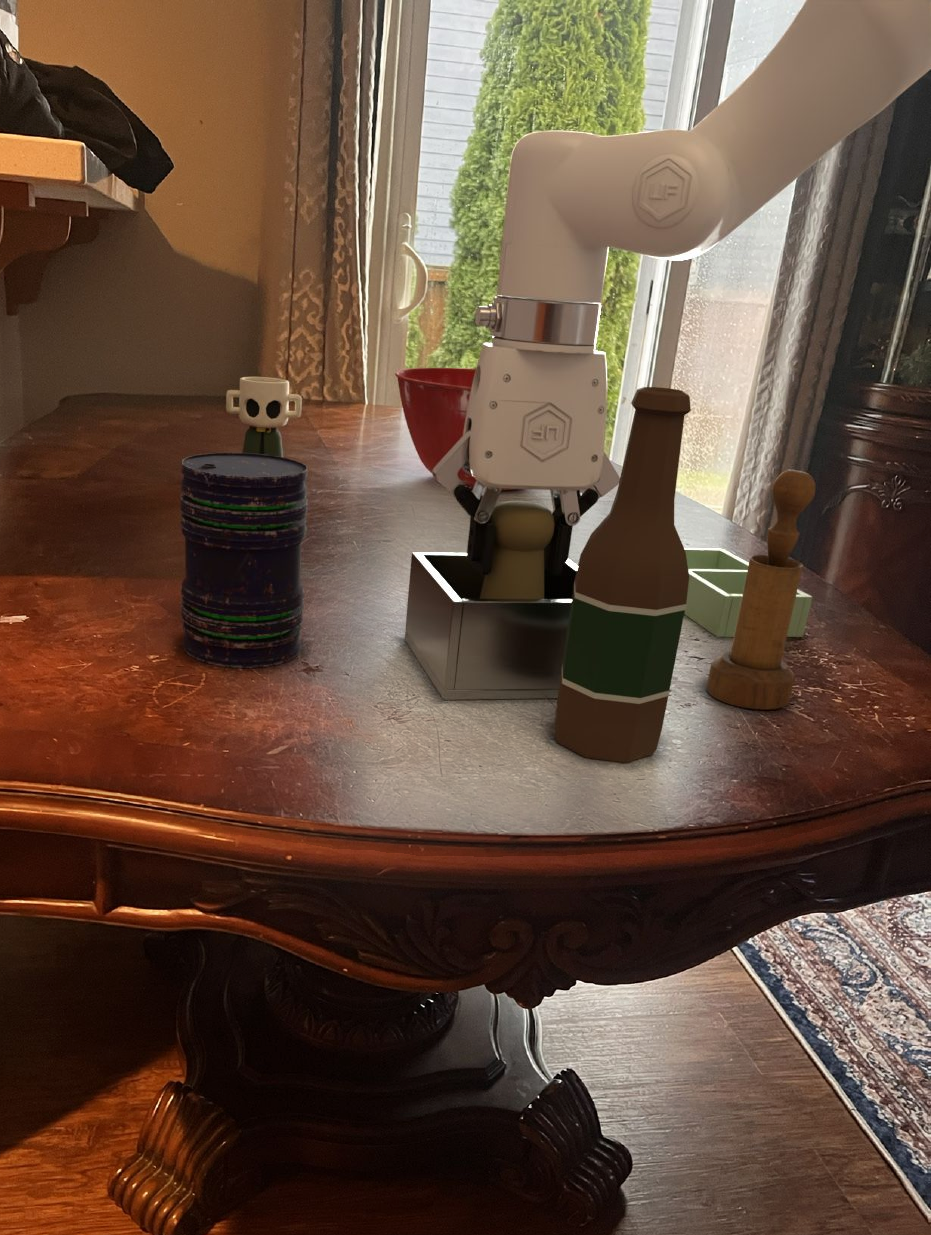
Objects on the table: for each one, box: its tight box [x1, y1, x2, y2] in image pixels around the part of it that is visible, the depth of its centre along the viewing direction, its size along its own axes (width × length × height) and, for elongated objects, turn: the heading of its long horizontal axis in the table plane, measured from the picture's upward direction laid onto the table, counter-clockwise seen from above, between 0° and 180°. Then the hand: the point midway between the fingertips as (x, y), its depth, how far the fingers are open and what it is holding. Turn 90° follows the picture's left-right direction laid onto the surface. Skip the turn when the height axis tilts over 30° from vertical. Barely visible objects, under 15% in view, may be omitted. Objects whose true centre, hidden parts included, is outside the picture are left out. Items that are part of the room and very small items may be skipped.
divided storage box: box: [684, 547, 813, 638], centre depth 106 cm, size 9×17×4 cm, turn 12°
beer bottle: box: [554, 386, 692, 764], centre depth 70 cm, size 8×8×24 cm
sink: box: [404, 551, 578, 701], centre depth 85 cm, size 14×14×8 cm
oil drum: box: [179, 452, 309, 669], centre depth 84 cm, size 10×10×15 cm
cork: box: [480, 500, 555, 599], centre depth 84 cm, size 6×6×11 cm
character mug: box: [225, 376, 303, 458], centre depth 154 cm, size 11×7×13 cm, turn 93°
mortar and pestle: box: [705, 469, 816, 711], centre depth 81 cm, size 7×6×18 cm
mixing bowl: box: [394, 367, 514, 491], centre depth 158 cm, size 28×28×16 cm
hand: (516, 568), depth 83 cm, fingers closed on cork, 5 cm apart
